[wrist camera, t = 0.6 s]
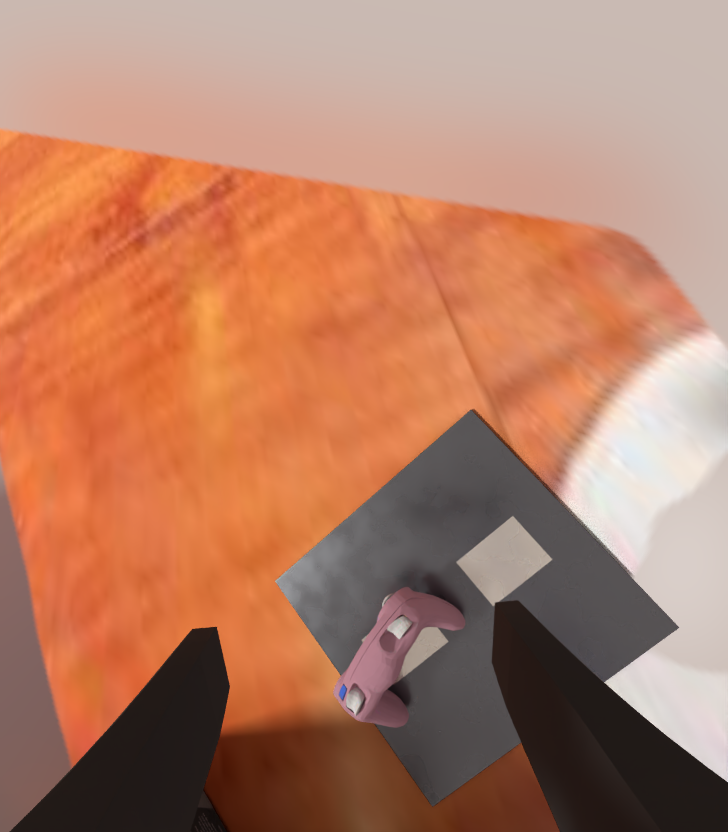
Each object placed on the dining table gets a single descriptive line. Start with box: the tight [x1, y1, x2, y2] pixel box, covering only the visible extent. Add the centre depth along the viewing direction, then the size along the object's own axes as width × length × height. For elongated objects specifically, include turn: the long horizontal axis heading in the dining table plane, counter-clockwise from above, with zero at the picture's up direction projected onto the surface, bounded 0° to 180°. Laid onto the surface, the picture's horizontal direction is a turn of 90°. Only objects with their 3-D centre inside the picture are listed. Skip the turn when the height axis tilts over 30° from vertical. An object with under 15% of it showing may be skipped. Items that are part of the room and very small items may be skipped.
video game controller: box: [333, 587, 465, 728], centre depth 27 cm, size 10×5×7 cm, turn 150°
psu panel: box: [275, 410, 679, 807], centre depth 29 cm, size 20×22×1 cm
